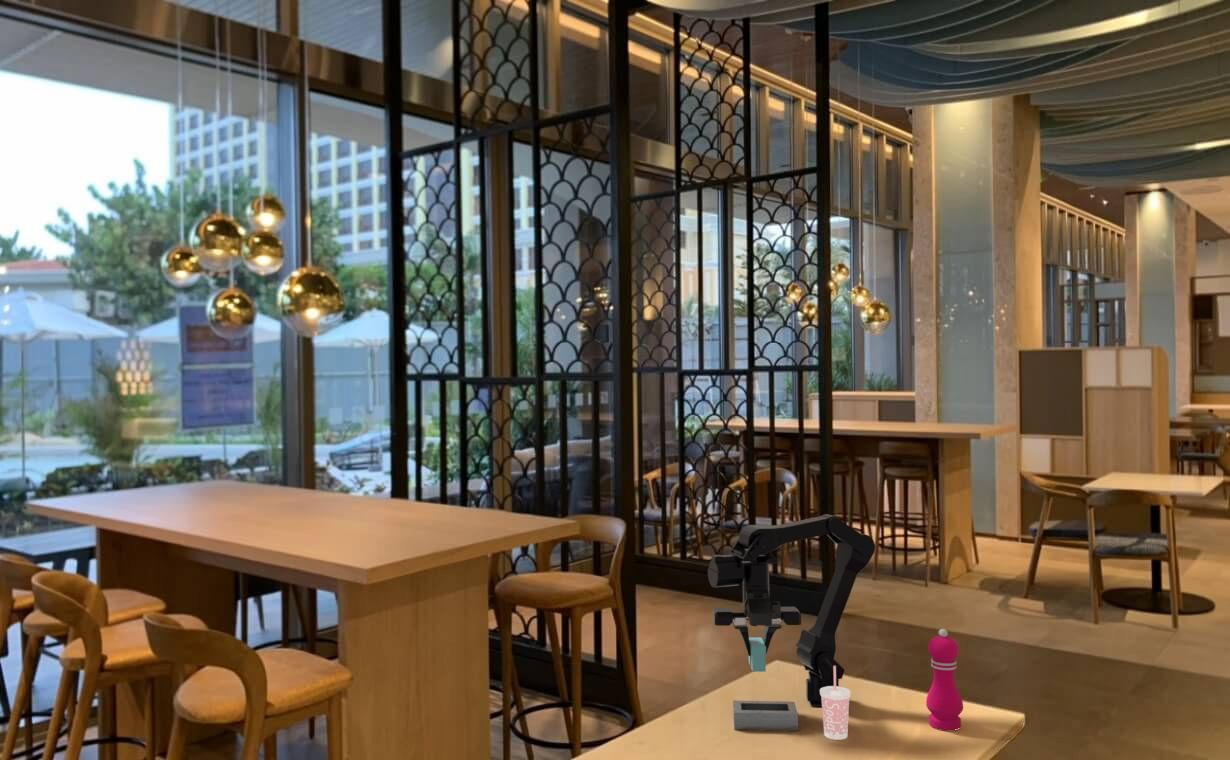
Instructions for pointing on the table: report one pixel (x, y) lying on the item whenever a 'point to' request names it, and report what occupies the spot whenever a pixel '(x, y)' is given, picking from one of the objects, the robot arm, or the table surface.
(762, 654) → the light blue rectangular block
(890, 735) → the table surface
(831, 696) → the beverage cup
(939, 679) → the pepper mill
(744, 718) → the grey slotted tray
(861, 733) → the table surface
